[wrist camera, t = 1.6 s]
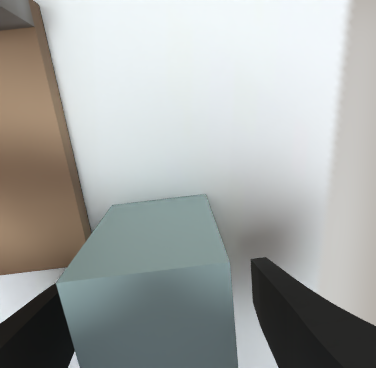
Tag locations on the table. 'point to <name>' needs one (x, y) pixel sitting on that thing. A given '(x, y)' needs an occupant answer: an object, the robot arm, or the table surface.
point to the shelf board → (34, 152)
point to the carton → (152, 289)
